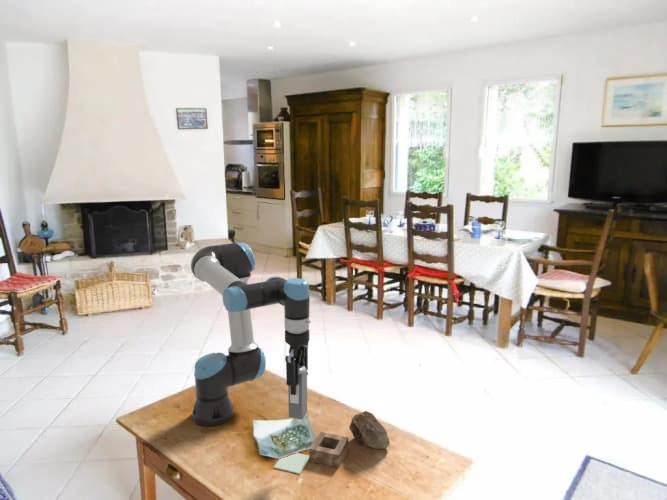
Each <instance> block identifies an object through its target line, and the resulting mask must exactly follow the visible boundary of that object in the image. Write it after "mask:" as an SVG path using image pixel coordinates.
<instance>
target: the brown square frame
mask: <svg viewBox="0 0 667 500" xmlns="http://www.w3.org/2000/svg"><path fill="white" fill-rule="evenodd" d="M348 451H349V437H347V436H344V435H343V436H342V435H338V434H333V433H329V432H324V431H320V432H319V433H318V435H317V437H316V438H315V440H314V441H313V442H312V444H311V446H310V447H309V456H310V459H309V462H311V463H316V464H320V465H324V466H325V465H326V466H329V467H335V468H340V466H341V464H342V463H343V461H344V459H345V457H346V455H347V453H348Z"/></svg>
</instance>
